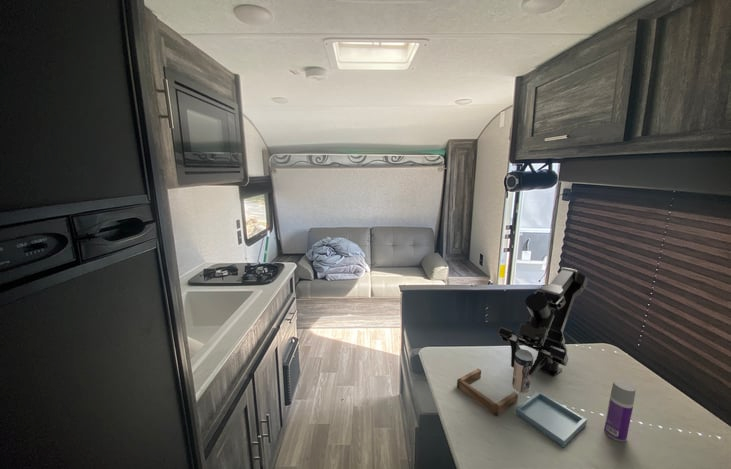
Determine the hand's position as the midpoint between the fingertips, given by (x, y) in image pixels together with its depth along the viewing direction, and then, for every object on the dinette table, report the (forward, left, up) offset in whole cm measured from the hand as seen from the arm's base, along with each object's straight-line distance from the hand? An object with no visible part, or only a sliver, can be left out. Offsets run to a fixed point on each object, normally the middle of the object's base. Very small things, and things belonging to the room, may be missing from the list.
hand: (520, 370), depth 87 cm
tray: (-3, +8, -12) cm, 15 cm away
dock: (+3, -8, -12) cm, 15 cm away
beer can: (-1, 0, -7) cm, 7 cm away
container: (-13, +20, -12) cm, 27 cm away
